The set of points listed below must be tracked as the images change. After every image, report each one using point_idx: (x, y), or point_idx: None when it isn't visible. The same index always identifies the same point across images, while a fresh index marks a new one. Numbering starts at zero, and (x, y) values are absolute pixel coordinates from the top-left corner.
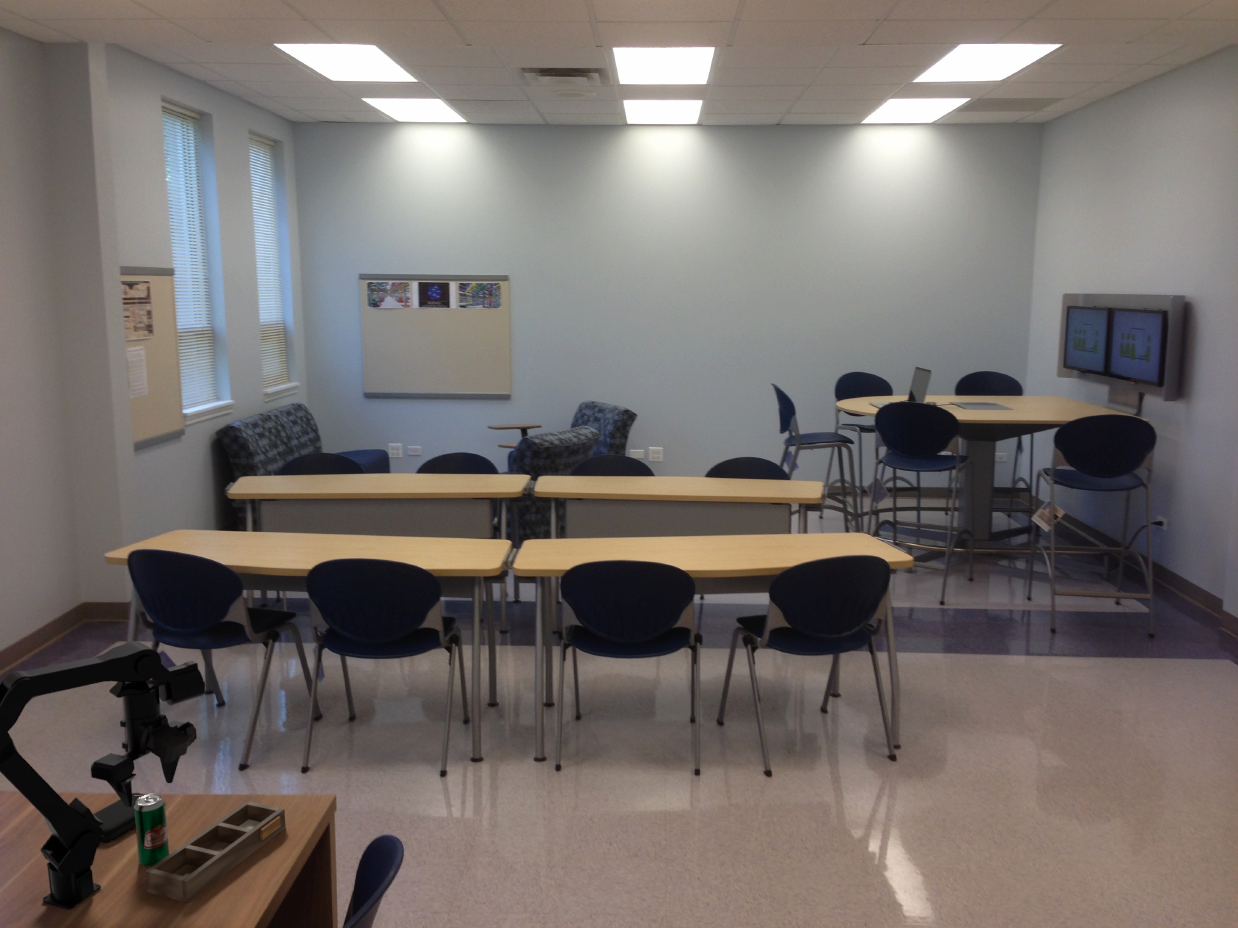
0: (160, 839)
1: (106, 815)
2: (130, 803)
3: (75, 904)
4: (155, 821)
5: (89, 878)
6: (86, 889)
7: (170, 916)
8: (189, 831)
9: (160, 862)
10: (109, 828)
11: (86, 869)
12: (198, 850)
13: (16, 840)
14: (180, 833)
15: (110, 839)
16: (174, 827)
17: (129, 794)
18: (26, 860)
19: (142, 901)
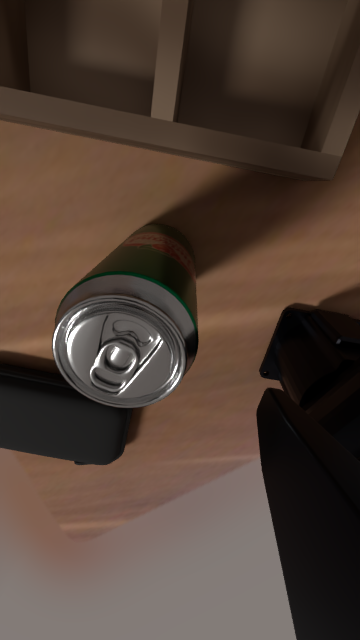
0: (166, 239)
1: (71, 440)
2: (290, 403)
3: (353, 319)
4: (171, 265)
5: (342, 329)
6: (342, 319)
7: None
8: (22, 252)
9: (277, 157)
10: (109, 411)
11: (349, 349)
12: (180, 33)
13: (156, 501)
14: (39, 269)
15: None
16: (25, 300)
17: (353, 470)
18: (203, 467)
19: (347, 163)
